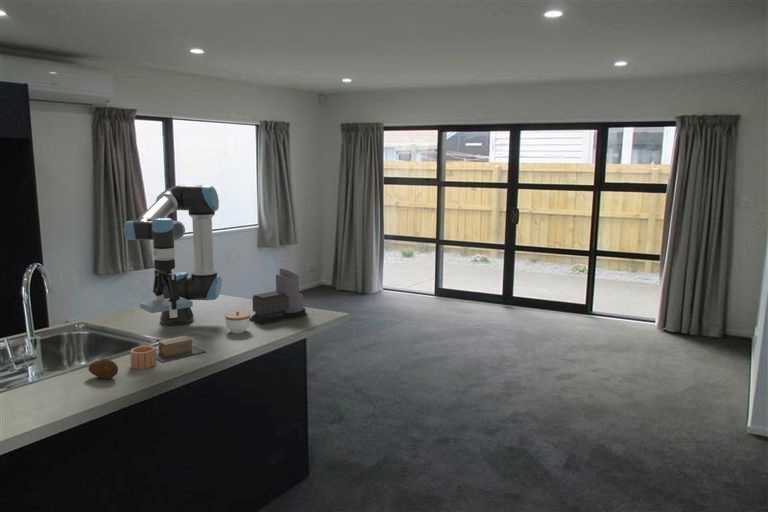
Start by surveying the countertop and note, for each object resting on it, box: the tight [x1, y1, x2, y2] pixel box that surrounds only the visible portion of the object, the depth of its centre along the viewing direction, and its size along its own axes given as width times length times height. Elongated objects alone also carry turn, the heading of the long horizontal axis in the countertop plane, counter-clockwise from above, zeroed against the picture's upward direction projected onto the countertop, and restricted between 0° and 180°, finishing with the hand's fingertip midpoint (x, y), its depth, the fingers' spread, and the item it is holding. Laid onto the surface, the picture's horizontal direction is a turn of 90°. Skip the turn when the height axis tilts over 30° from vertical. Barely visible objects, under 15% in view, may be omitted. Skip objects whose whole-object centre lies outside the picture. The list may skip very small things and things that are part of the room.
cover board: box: [139, 297, 194, 314], centre depth 220 cm, size 11×16×2 cm
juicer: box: [250, 267, 309, 326], centre depth 280 cm, size 30×16×24 cm, turn 137°
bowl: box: [129, 345, 157, 370], centre depth 212 cm, size 8×8×6 cm
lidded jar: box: [224, 310, 251, 334], centre depth 255 cm, size 11×11×9 cm
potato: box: [88, 358, 119, 380], centre depth 199 cm, size 7×12×7 cm, turn 77°
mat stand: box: [156, 335, 207, 363], centre depth 227 cm, size 16×18×5 cm
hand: (166, 314), depth 221 cm, fingers closed on cover board, 11 cm apart
